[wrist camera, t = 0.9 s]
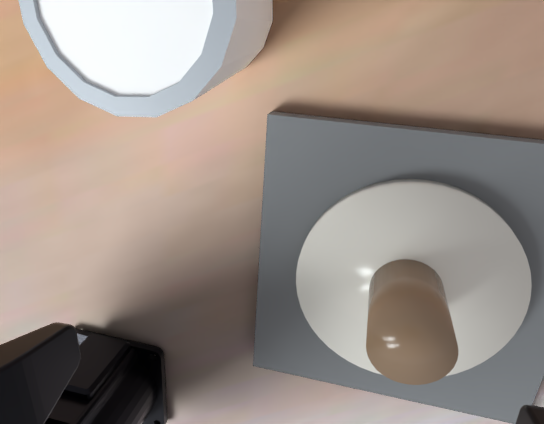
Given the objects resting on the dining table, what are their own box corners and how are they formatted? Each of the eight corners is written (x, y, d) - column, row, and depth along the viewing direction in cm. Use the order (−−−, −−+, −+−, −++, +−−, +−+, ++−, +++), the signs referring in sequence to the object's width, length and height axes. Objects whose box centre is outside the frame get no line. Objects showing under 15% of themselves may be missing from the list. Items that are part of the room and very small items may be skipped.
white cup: (138, -101, 17) (-2, -180, 11) (304, -74, 16) (255, -143, 10) (132, 74, 20) (17, 93, 14) (272, 106, 19) (219, 142, 13)
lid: (491, 386, 21) (519, 478, 17) (291, 344, 23) (269, 417, 18) (558, 196, 17) (618, 252, 13) (308, 164, 19) (286, 203, 14)
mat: (518, 413, 22) (523, 425, 21) (256, 356, 25) (253, 365, 24) (624, 148, 16) (635, 153, 16) (272, 111, 19) (267, 114, 18)
